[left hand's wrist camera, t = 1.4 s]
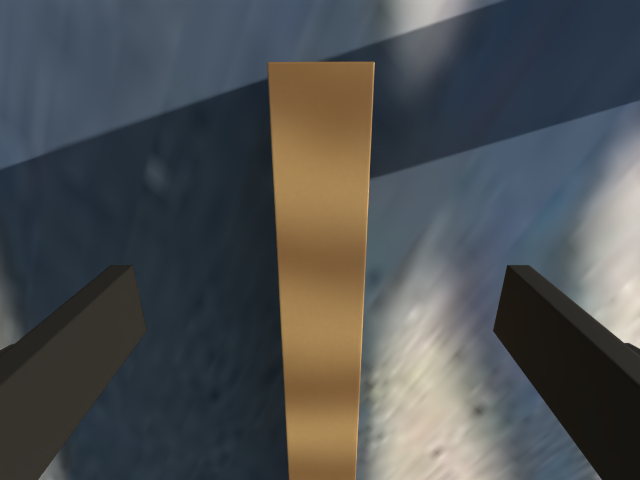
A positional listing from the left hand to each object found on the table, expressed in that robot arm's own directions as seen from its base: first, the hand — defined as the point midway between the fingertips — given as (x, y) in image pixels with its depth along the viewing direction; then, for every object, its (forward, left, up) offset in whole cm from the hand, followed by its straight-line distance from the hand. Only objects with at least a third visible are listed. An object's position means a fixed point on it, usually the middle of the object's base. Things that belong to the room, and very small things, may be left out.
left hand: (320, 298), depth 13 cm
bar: (+26, +12, -15) cm, 32 cm away
